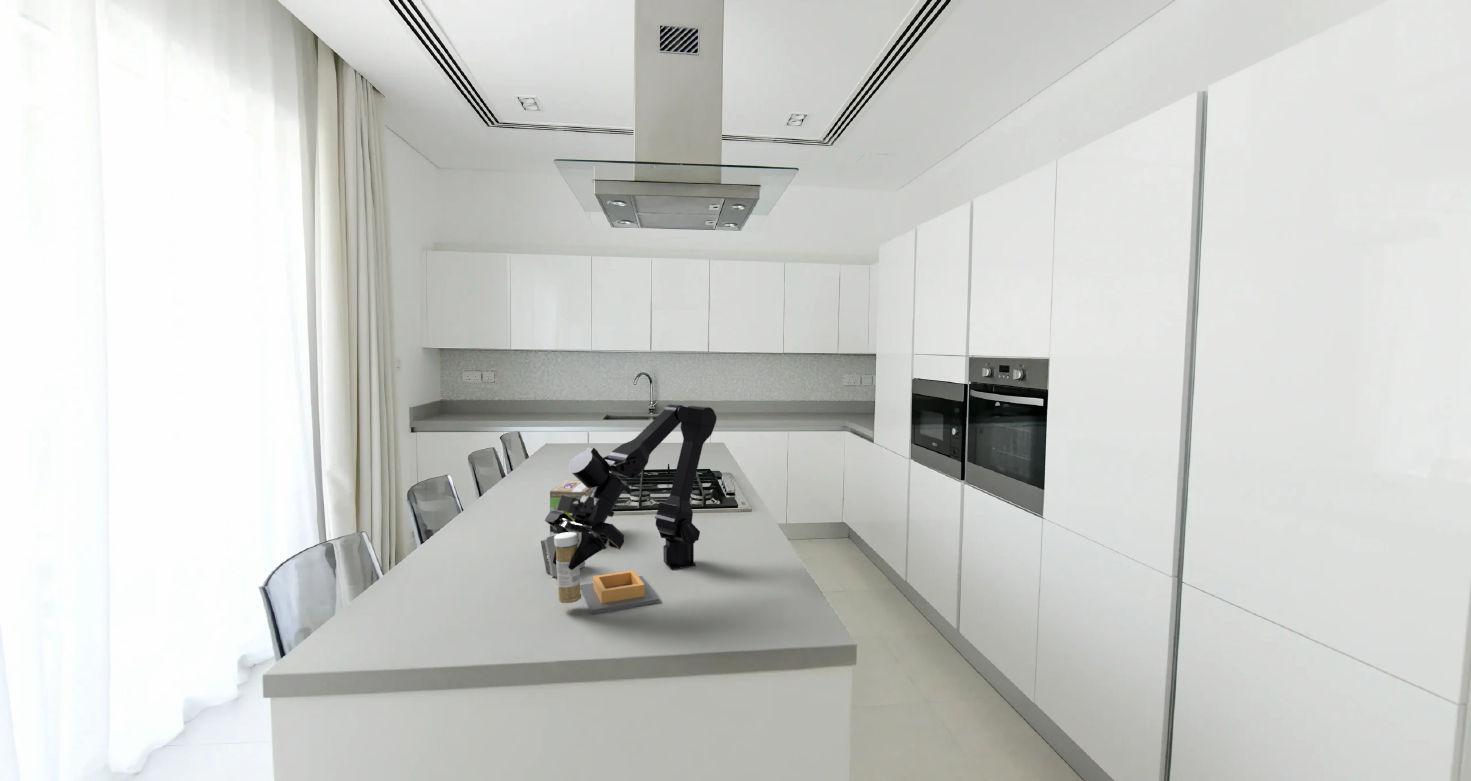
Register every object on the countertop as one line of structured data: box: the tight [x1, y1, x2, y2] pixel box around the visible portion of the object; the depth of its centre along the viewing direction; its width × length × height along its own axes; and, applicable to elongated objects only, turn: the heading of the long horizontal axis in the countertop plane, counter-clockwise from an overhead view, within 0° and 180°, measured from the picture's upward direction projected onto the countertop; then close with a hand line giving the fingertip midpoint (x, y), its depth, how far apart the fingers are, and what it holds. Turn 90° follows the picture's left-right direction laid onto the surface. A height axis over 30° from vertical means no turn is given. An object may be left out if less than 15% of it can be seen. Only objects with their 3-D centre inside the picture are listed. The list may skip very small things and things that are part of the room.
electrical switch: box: [540, 532, 586, 578], centre depth 149 cm, size 9×5×9 cm, turn 141°
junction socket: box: [580, 570, 660, 615], centre depth 134 cm, size 14×14×3 cm
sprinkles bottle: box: [554, 532, 582, 604], centre depth 127 cm, size 5×5×13 cm
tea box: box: [549, 479, 594, 539], centre depth 174 cm, size 15×10×15 cm
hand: (562, 566), depth 126 cm, fingers closed on sprinkles bottle, 4 cm apart
